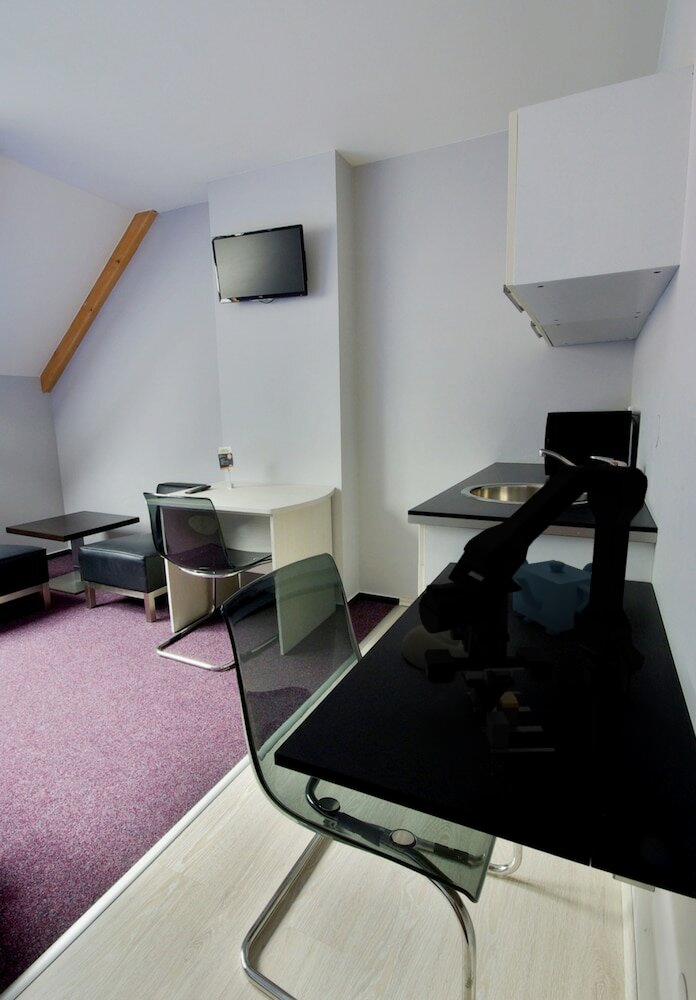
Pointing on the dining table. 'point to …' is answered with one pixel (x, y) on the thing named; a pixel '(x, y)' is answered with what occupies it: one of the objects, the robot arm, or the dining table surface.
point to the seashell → (429, 645)
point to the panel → (517, 729)
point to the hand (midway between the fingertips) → (485, 714)
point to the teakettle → (551, 593)
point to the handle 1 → (474, 696)
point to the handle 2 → (497, 729)
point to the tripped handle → (509, 707)
